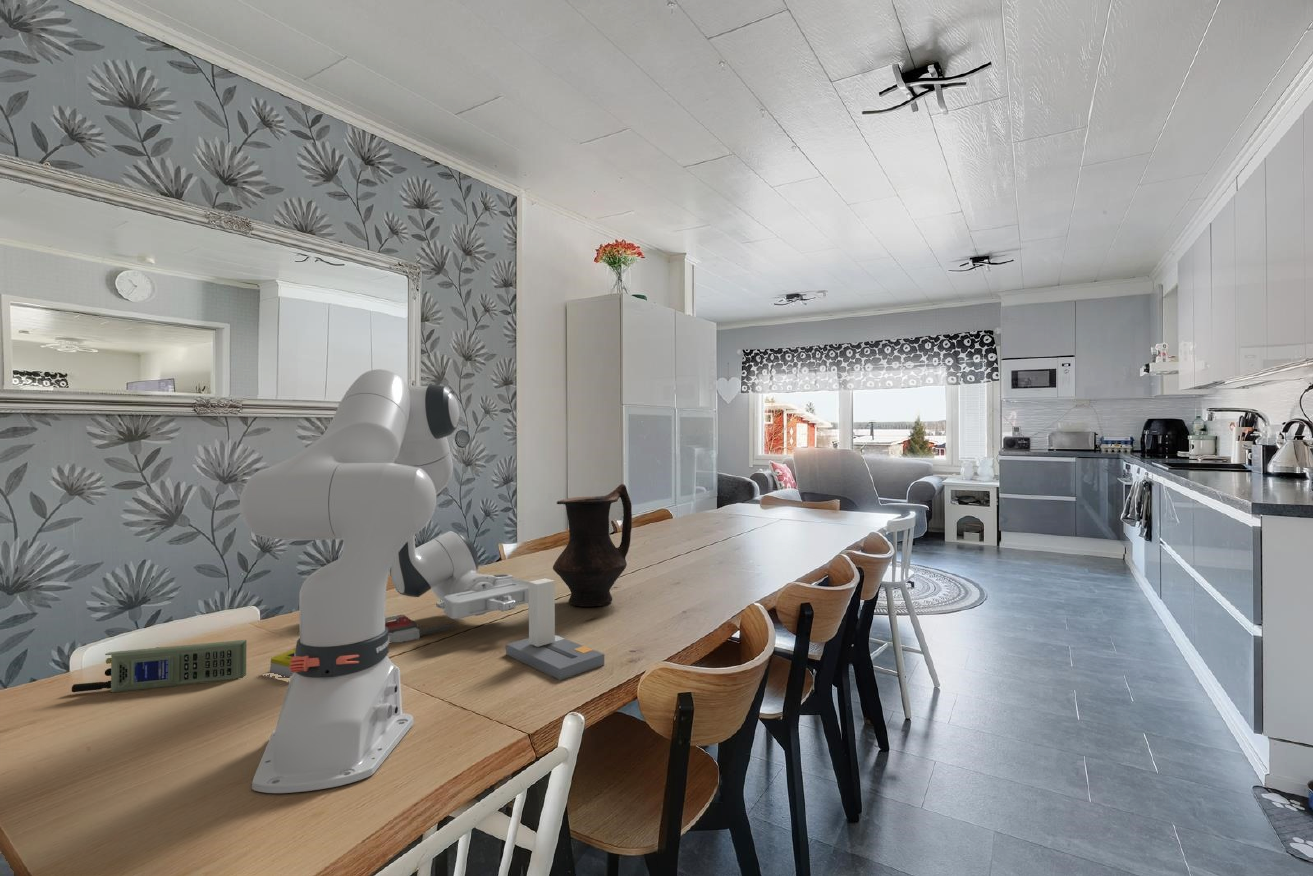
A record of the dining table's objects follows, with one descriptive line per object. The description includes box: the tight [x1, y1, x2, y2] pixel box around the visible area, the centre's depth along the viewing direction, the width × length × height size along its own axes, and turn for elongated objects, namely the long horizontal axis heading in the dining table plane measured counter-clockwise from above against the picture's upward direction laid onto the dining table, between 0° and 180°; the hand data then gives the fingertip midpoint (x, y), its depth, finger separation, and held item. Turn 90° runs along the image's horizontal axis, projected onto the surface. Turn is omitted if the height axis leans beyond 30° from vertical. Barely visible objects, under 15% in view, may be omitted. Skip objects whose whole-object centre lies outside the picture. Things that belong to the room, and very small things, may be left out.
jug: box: [552, 483, 633, 607], centre depth 156 cm, size 21×18×30 cm
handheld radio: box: [71, 639, 247, 693], centre depth 106 cm, size 7×3×25 cm
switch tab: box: [528, 577, 556, 647], centre depth 119 cm, size 3×4×12 cm
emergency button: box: [264, 648, 296, 682], centre depth 114 cm, size 9×4×15 cm
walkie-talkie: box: [385, 614, 455, 643], centre depth 131 cm, size 9×4×20 cm
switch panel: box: [505, 634, 605, 681], centre depth 116 cm, size 18×10×2 cm, turn 45°
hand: (509, 606), depth 128 cm, fingers closed
